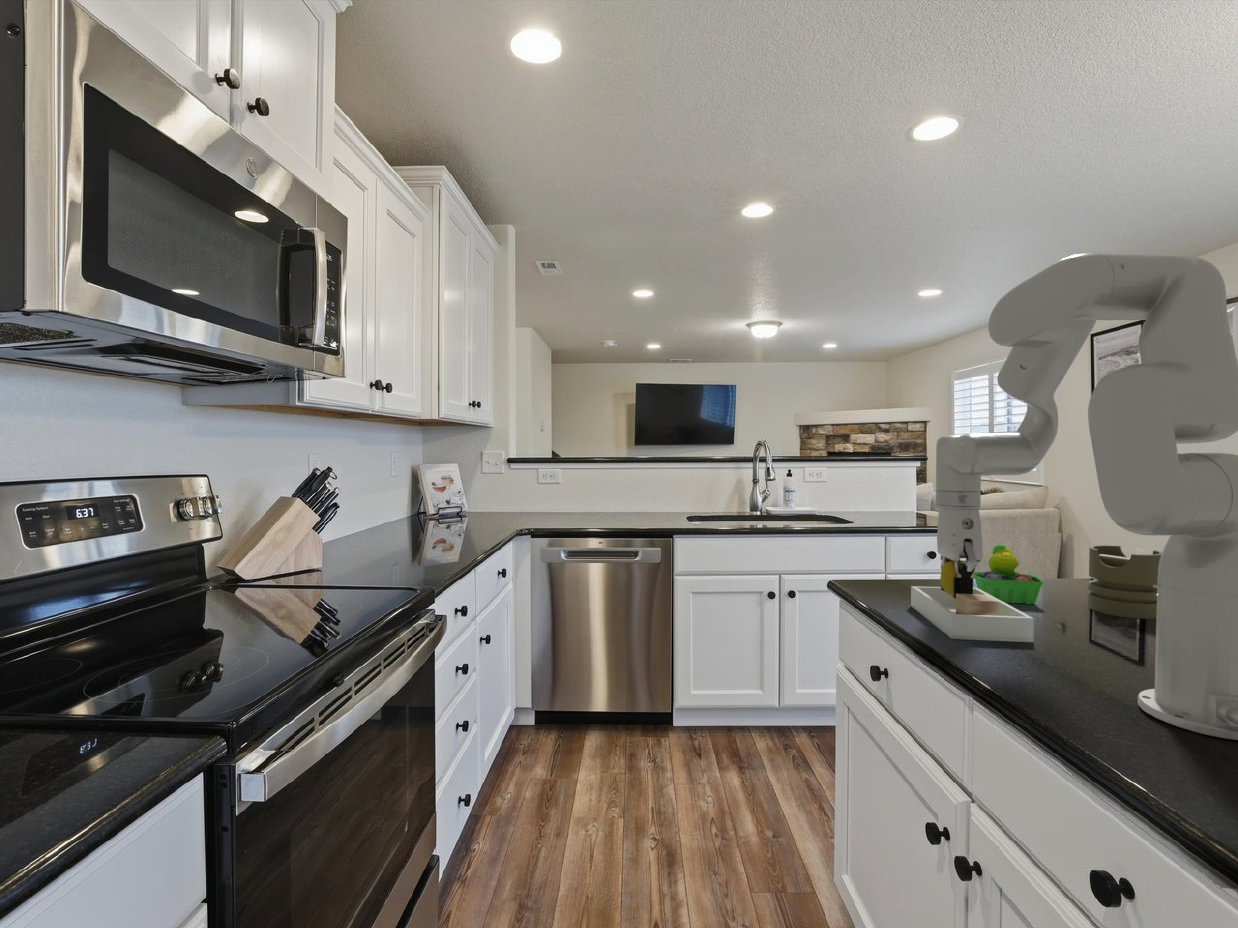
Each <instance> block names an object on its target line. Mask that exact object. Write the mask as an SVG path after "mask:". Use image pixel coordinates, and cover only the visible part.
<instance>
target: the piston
mask: <svg viewBox="0 0 1238 928" xmlns="http://www.w3.org/2000/svg"><path fill="white" fill-rule="evenodd" d="M1162 552H1163V551H1159V550H1157V549H1153V550H1152V554H1138V553H1137V554H1136V553H1134V554H1130V557H1127V556H1126V555H1125V554H1124V553H1123V551H1122V547H1121V545H1107V544H1105V545H1103V544H1102V545H1100V544H1099V545H1091V546H1089V554H1088V556H1089V558H1088V559H1089V560H1088V561H1089V562H1088V577H1090V578H1093V579H1092V580H1089V581H1088V590H1089V591H1088V595H1087V596H1088V597H1087V601H1088V602H1087V607H1088V608H1089V609H1090V610H1092V611H1094V612H1097V611H1098V612H1097V613H1101V614H1105V615H1109V616H1114V617H1122V618H1129V619H1141V620H1142V619H1144V620H1153V619H1155V620H1156V616H1157V585H1158V567H1159V562H1160V558H1161V555H1162Z"/></svg>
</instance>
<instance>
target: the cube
mask: <svg viewBox="0 0 1238 928" xmlns="http://www.w3.org/2000/svg"><path fill="white" fill-rule="evenodd" d="M956 614H963V615H991V616H998V601H996V600H994V599H993V598H991V597H989V596H987V595H982V594H956Z"/></svg>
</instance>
